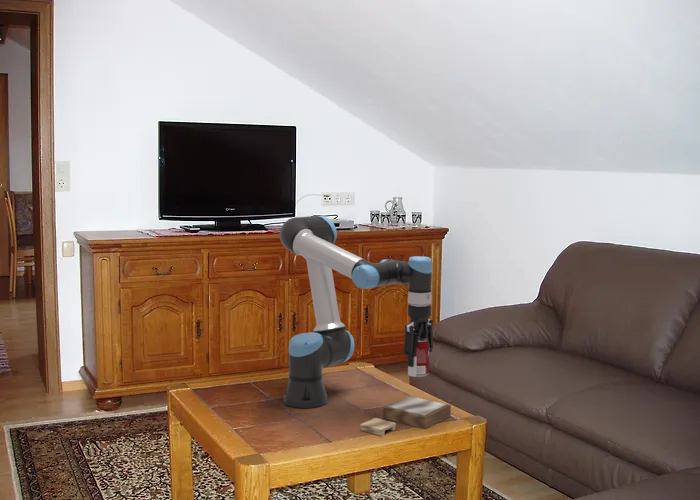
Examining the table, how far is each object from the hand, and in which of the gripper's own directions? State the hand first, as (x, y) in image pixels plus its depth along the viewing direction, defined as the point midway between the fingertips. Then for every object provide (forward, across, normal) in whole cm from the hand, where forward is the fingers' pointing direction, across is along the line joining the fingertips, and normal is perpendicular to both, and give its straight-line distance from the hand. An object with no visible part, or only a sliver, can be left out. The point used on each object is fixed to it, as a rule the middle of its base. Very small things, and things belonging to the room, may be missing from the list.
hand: (418, 373), depth 251 cm
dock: (+15, 0, 0) cm, 15 cm away
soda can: (+1, 0, 0) cm, 1 cm away
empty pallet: (+15, -18, +3) cm, 24 cm away
